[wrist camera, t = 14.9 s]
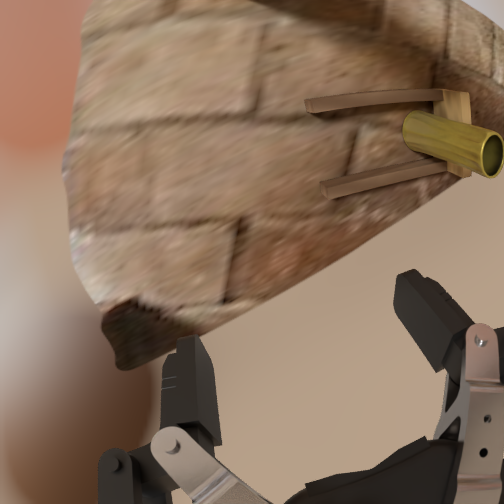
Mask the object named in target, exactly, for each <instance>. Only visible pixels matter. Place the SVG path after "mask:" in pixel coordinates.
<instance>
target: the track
mask: <svg viewBox="0 0 504 504" xmlns="http://www.w3.org/2000/svg"><path fill="white" fill-rule="evenodd" d="M304 101H305V106H306V110H307V112H310V113H318V112H324V111H330V110H337V109H343V108H351V107H358V106H367V105H376V104H386V103H398V102H412V101H433V109H434V115H437V116H440V117H443V118H446V119H449V120H454V121H459V122H463V123H467V124H471V110H470V98H469V93H468V92H462V91H454V90H447V89H399V90H382V91H369V92H358V93H349V94H341V95H333V96H326V97H319V98H312V99H306V100H304ZM444 171H449V172H451V173H453V174H455V175H457V176H459V177H462V178H466V177H470V176H471V172H472V171H471V170H469V169H466V168H464V167H461V166H459V165H456V164H453V163H450V162H448V161H445V160H442V159H439V158H436V157H432V158H427V159H422V160H417V161H412V162H407V163H402V164H397V165H392V166H387V167H383V168H378V169H374V170H369V171H365V172H360V173H356V174H351V175H347V176H343V177H339V178H334V179H330V180H326V181H322V182H320V188H321V193H322V194H323V195H324V196H325V197H326V198H327V199H333V198H337V197H341V196H345V195H349V194H352V193H356V192H360V191H364V190H368V189H372V188H376V187H380V186H384V185H388V184H393V183H397V182H401V181H405V180H409V179H413V178H418V177H422V176H426V175H431V174H435V173H439V172H444Z"/></svg>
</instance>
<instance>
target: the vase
mask: <svg viewBox="0 0 504 504" xmlns="http://www.w3.org/2000/svg"><path fill="white" fill-rule="evenodd" d="M402 132H403V138H404V141H405V143H406V145H407V146H408V147H409V148H410V149H411V150H413V151H416V152H422V153H426V154H428V155H431V156H434V157H436V158H439V159H442V160H445V161H448V162H450V163H453V164H456V165H459V166H461V167H464V168H466V169H469V170H471V171H473V172H476V173H478V174H480V175H482V176H484V177H487V178H495V177H496V176H497V175H498V174H499V173H500V171H501V169H502V167H503V164H504V141H503V139H502V137H501V136H500V135H499V134H498V133H497V132H495V131H492V130H489V129H485V128H482V127H478V126H474V125H471V124H467V123H463V122H459V121H454V120H449V119H446V118H443V117H440V116H437V115H434V114H430V113H427V112H424V111H421V110H414V111H412V112H411V113H409V114H408V116H407V117H406V118H405V120H404V123H403V128H402Z"/></svg>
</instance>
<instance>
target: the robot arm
mask: <svg viewBox="0 0 504 504" xmlns="http://www.w3.org/2000/svg"><path fill="white" fill-rule="evenodd" d="M393 305H394V310H395V313H396V315H397V316H398V318H399V319H400V321H401V322H402V323H403V325H404V326H405V328H406V329H407V330H408V332H409V333H410V335H411V336H412V338H413V339H414V341H415V342H416V343H417V345H418V346H419V348H420V349H421V351H422V352H423V354H424V355H425V357H426V358H427V360H428V361H429V363H430V364H431V366H432V367H433V369H434V370H435V372H436V373H437V372H439V371H440V370H442V369H444V368H445V369H446V371H447V375H446V381H445V390H444V398H443V405H442V412H441V416H440V420H439V422H438V425H437V427H436V430H435V434H434V437H433V440H428V441H427V439H426V437H425V436H424V437H422V438H420V439H418V440H416V441H414V442H412V443H410V444H408V445H406V446H404V447H402V448H400V449H398V450H397V451H396V452H394V453H393V454H392V455H390V456H389V457H388V458H386V459H385V460H384V461H382V462H381V463H380V464H378V465H377V466H376V467H374V468H372V469H370V470H365V471H358V472H350V473H342V474H336V475H333V476H329V477H326V478H323V479H320V480H316V481H313V482H309V483H306V484H305V486H306V488H305V489H303V490H301V491H299V492H298V493H297V494H295V495H293V496H292V497H291V498H290V499H288V500H287V501H286V502H285V503H284V504H504V459H503V452H504V327H501V328H497V329H492V328H491V327H490V326H488V325H486V324H482V323H478V324H475V323H474V322H473V321H472V319H471V318H470V317H469V316H468V315H467V314H466V313H465V311H464V310H463V309H462V308H461V307H460V306H459V305H458V303H457V302H456V301H455V300H454V299H452V297H451V296H450V295H449V294H448V293H446V290H445V289H444V288H443V287H442V286H441V285H440V284H439V283H438V282H436V281H434V280H432V279H430V278H429V277H426V278H424V277H423V276H422V275H421V274H420V273H419V272H418V271H417V270H416V269H412V270H409V271H407V272H404V273H401V274H398V275H397V278H396V285H395V294H394V302H393ZM162 379H163V380H162V391H161V424H160V430H159V431H158V432H157V433H156V434H155V436H154V437H153V439H152V441H151V442H150V443H149V444H147V445H145V446H143V447H140V448H137V449H135V450H132V451H130V452H125V451H124V450H122V449H119V448H113V449H109V450H107V451H106V452H104V453H103V454H102V456H101V457H100V460H99V463H98V504H173V503H172V496H171V491H173V490H175V489H178V488H182V489H183V491H184V492H185V493H186V494H187V495H188V496H189V497H190V498H191V499H192V501H193V502H192V503H193V504H273V503H272V502H270V501H269V500H267V499H266V498H265V497H263V496H262V495H261V494H259V493H258V492H256V491H255V490H254V489H252V488H251V487H250V486H248V485H247V484H246V483H244V482H243V481H242V480H241V479H240V478H238V477H237V476H236V475H235V474H233V473H232V472H231V471H230V470H229V469H228V468H226V467H225V466H224V465H223V464H222V463H221V462H220V461H218V460H217V459H216V458H215V453H214V446H220V445H222V440H221V431H220V422H219V414H218V405H217V395H216V386H215V376H214V368H213V364H212V361H211V359H210V357H209V355H208V353H207V351H206V349H205V347H204V346H203V344H202V342H201V340H200V338H199V336H198V335H197V334H195V335H191V336H187V337H182V338H178V339H177V350H176V353H174V354H169V355H168V356H167V358H166V360H165V363H164V365H163V369H162Z"/></svg>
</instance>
